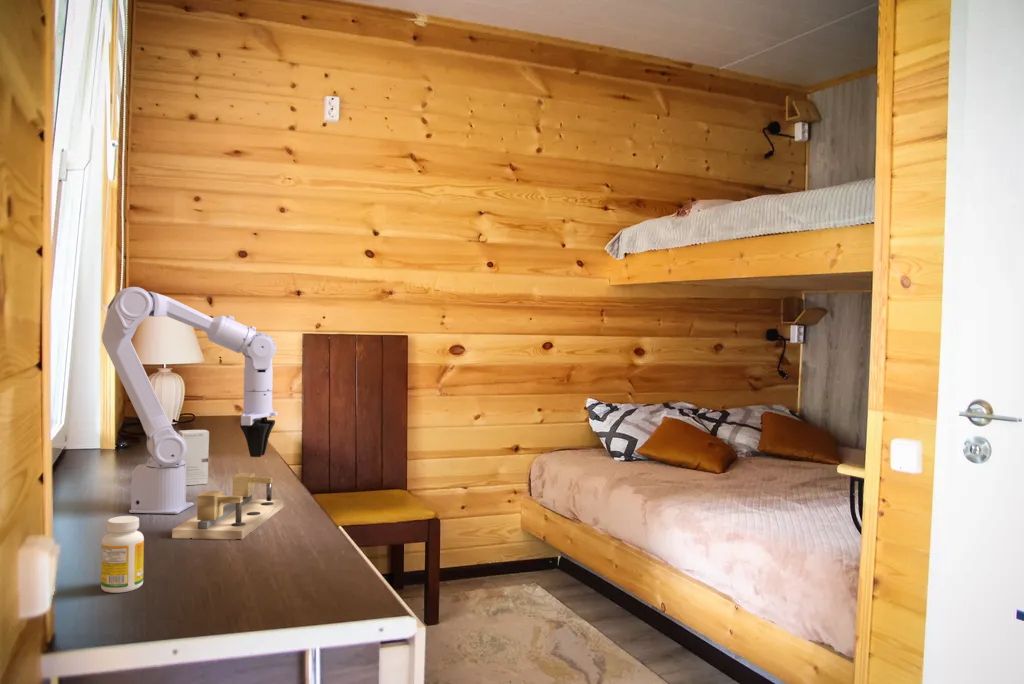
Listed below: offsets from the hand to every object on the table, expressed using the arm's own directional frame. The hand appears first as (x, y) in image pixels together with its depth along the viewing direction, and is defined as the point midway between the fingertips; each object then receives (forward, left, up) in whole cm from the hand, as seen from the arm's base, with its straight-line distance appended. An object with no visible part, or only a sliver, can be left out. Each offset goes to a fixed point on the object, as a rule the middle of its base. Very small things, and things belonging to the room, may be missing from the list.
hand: (257, 455), depth 166 cm
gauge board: (+1, -17, -9) cm, 19 cm away
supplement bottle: (-1, -54, -10) cm, 55 cm away
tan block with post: (+2, -8, -7) cm, 11 cm away
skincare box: (-20, +16, -10) cm, 27 cm away
